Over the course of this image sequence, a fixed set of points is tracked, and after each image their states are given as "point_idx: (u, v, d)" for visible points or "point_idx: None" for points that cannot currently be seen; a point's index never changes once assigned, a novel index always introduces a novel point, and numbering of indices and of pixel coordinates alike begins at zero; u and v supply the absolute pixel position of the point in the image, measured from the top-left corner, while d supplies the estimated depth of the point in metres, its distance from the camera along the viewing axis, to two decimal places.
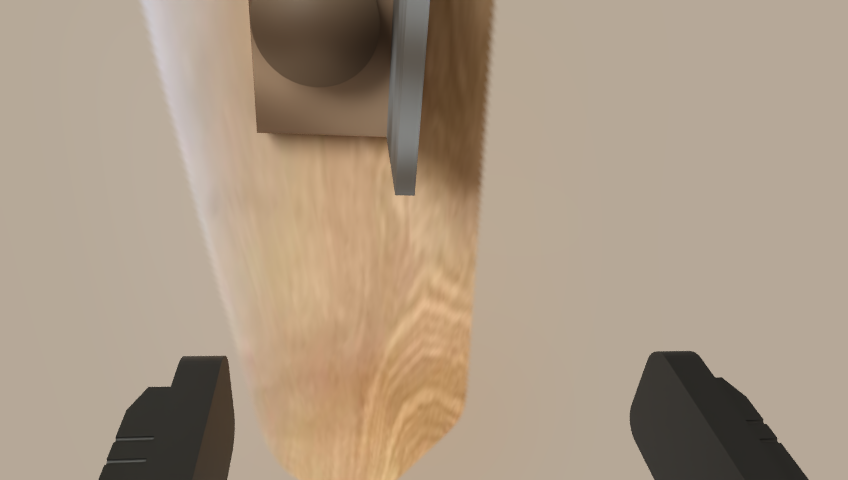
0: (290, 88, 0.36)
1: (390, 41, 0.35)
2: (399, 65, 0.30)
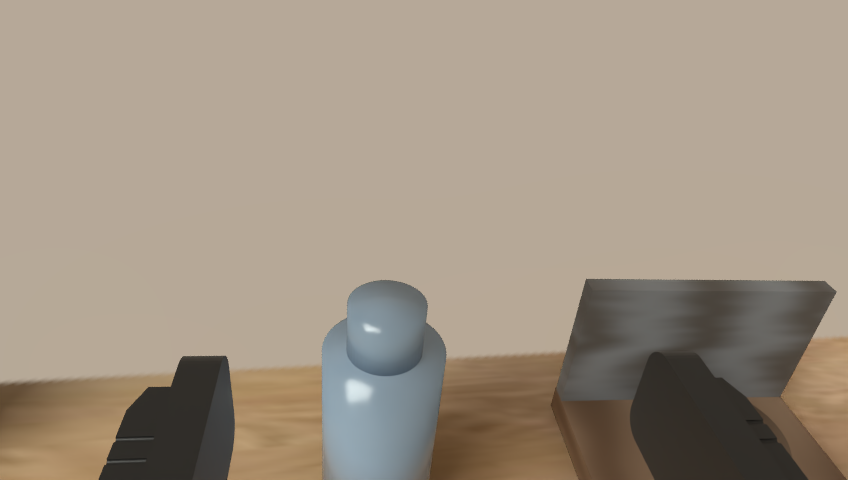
0: None
1: None
2: (720, 319, 0.34)
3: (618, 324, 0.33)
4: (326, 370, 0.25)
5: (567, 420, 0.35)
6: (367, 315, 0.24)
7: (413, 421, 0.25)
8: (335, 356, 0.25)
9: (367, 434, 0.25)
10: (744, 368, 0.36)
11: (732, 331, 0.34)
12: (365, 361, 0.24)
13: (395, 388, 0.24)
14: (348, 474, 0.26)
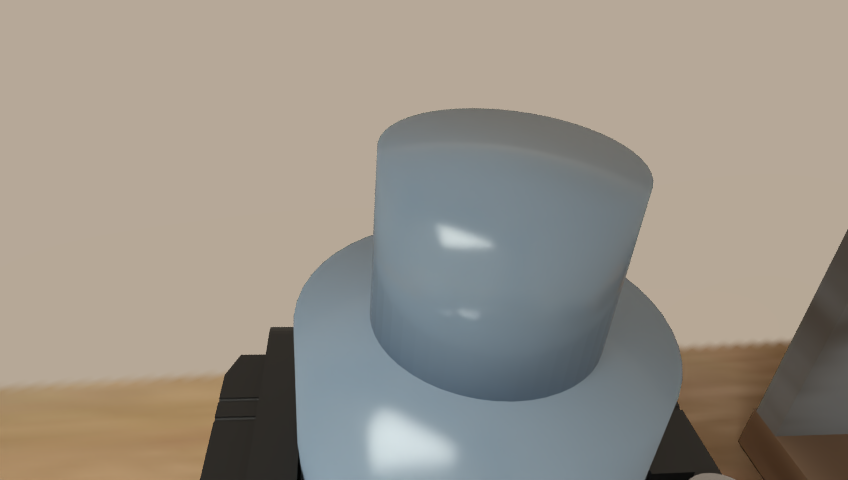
0: None
1: None
2: None
3: None
4: (306, 382, 0.07)
5: (799, 476, 0.17)
6: (453, 180, 0.06)
7: None
8: (336, 337, 0.08)
9: None
10: None
11: None
12: (441, 350, 0.07)
13: (554, 448, 0.07)
14: None
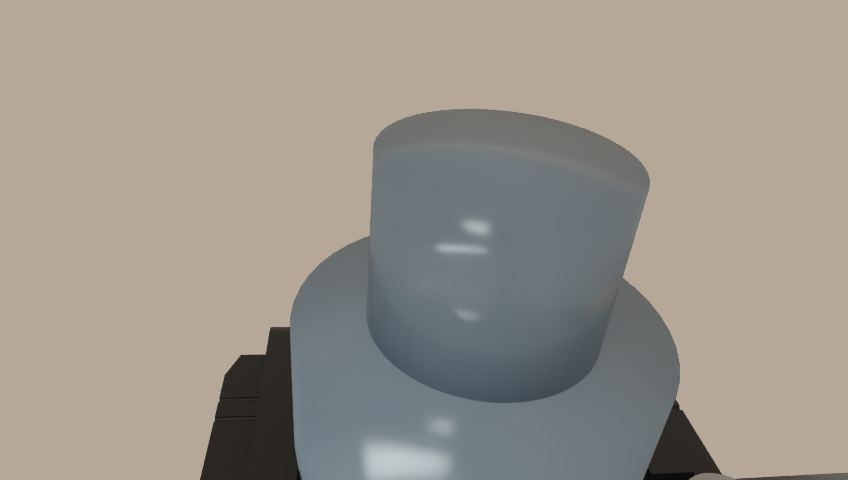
0: None
1: None
2: None
3: None
4: (302, 383, 0.07)
5: None
6: (449, 181, 0.06)
7: None
8: (332, 339, 0.08)
9: None
10: None
11: None
12: (437, 352, 0.07)
13: (551, 450, 0.07)
14: None
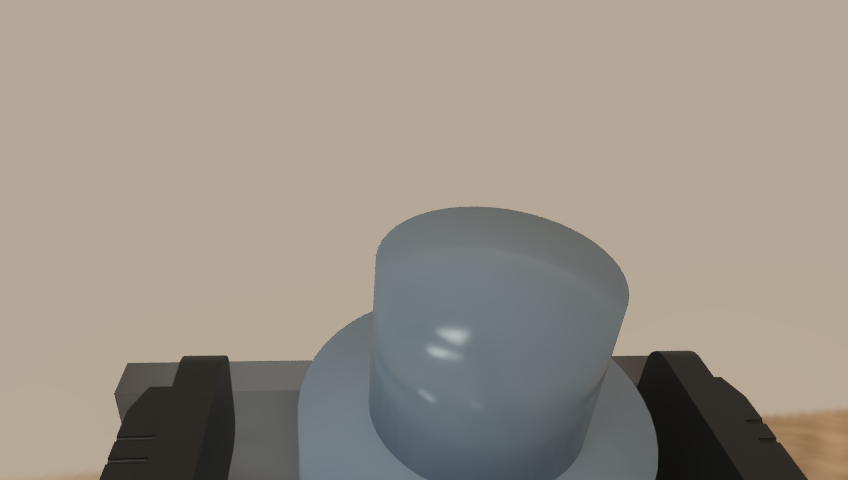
0: None
1: None
2: None
3: None
4: (309, 473, 0.08)
5: None
6: (444, 301, 0.07)
7: None
8: (337, 427, 0.08)
9: None
10: None
11: None
12: (434, 450, 0.08)
13: None
14: None
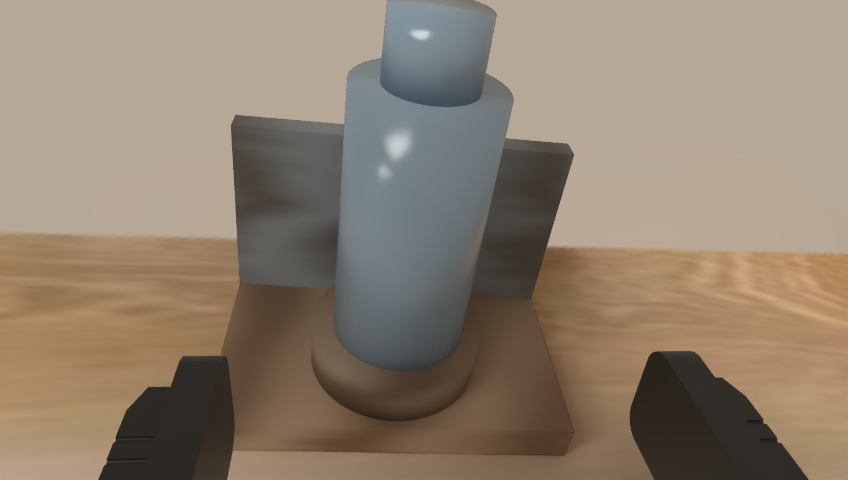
0: (494, 388, 0.25)
1: None
2: None
3: (283, 180, 0.25)
4: (352, 97, 0.18)
5: (235, 305, 0.28)
6: (415, 10, 0.17)
7: (467, 176, 0.18)
8: (365, 84, 0.18)
9: (404, 189, 0.18)
10: None
11: None
12: (407, 82, 0.18)
13: (448, 117, 0.17)
14: (373, 258, 0.20)
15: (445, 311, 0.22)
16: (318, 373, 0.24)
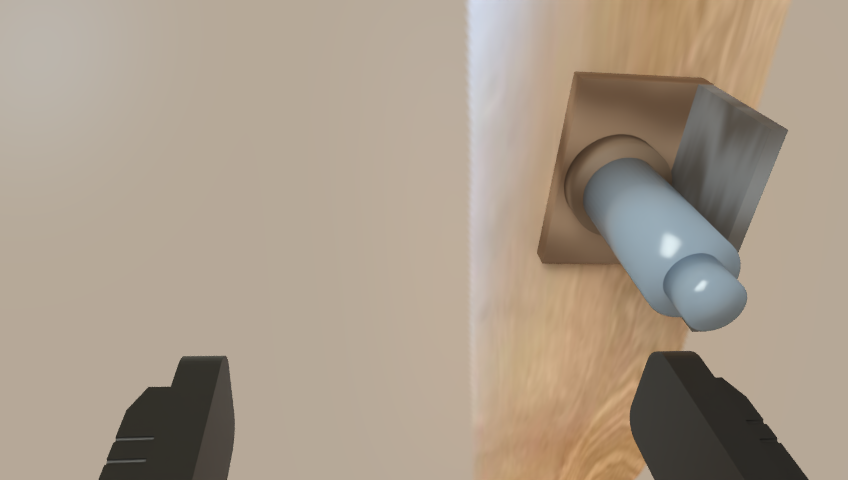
0: (577, 231, 0.45)
1: None
2: None
3: (735, 147, 0.36)
4: (686, 237, 0.31)
5: (678, 82, 0.40)
6: (706, 292, 0.30)
7: (632, 276, 0.34)
8: (696, 245, 0.31)
9: (633, 244, 0.34)
10: None
11: None
12: (678, 270, 0.31)
13: (650, 283, 0.32)
14: (622, 208, 0.36)
15: (598, 230, 0.39)
16: (602, 141, 0.41)
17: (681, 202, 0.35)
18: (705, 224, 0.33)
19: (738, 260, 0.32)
